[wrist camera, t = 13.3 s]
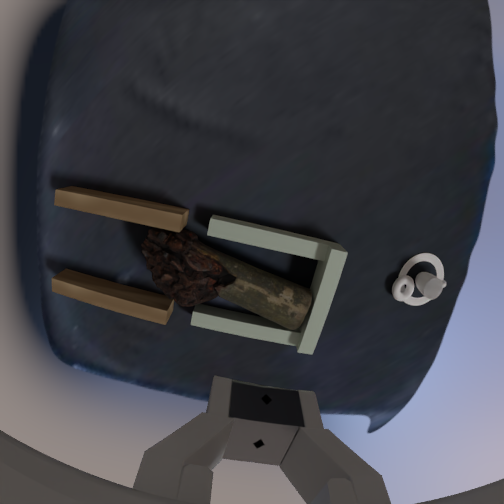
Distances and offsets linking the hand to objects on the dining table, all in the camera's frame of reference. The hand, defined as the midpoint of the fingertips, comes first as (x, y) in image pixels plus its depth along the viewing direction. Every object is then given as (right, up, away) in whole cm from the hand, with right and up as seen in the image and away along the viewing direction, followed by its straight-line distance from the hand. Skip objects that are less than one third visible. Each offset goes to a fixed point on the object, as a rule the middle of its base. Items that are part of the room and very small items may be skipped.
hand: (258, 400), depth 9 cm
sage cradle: (0, +1, +32) cm, 32 cm away
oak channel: (-18, +5, +31) cm, 36 cm away
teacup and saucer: (+22, +3, +32) cm, 39 cm away
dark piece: (-4, +2, +32) cm, 33 cm away
